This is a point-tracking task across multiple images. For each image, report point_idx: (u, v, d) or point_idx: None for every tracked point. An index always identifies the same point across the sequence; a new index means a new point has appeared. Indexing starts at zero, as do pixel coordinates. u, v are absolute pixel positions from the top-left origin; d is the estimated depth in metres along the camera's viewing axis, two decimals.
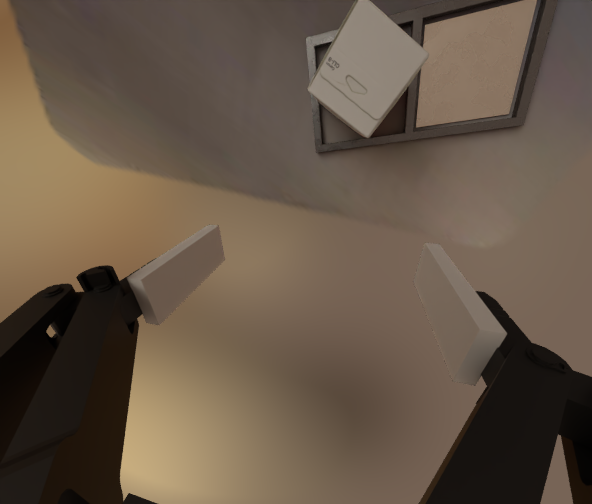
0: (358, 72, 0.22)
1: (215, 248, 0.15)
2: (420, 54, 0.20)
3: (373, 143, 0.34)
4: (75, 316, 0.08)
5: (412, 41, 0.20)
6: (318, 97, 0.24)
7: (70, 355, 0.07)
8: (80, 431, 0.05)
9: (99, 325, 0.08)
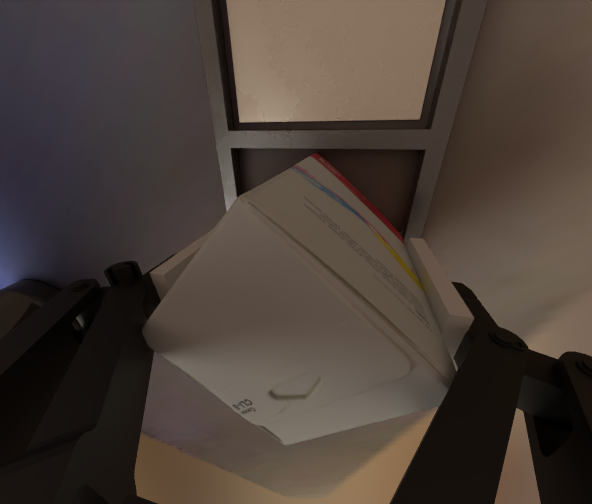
0: (267, 377, 0.08)
1: None
2: (236, 229, 0.05)
3: (421, 222, 0.14)
4: (101, 309, 0.08)
5: (205, 249, 0.06)
6: (304, 439, 0.10)
7: (94, 348, 0.07)
8: (98, 426, 0.05)
9: (122, 320, 0.08)
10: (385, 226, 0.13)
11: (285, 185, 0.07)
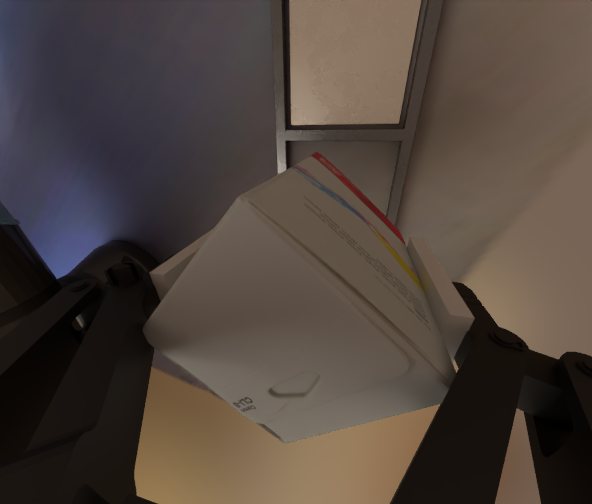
0: (266, 375, 0.08)
1: None
2: (237, 228, 0.06)
3: (401, 185, 0.24)
4: (101, 309, 0.08)
5: (206, 248, 0.06)
6: (303, 437, 0.10)
7: (94, 348, 0.07)
8: (98, 426, 0.05)
9: (122, 320, 0.08)
10: (385, 226, 0.13)
11: (285, 185, 0.07)
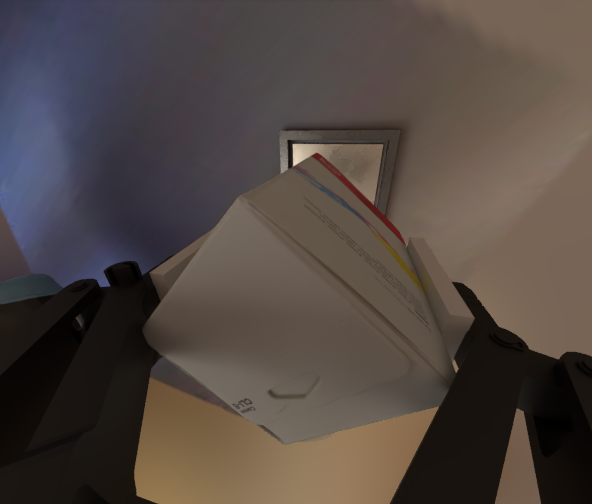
0: (266, 376, 0.08)
1: None
2: (236, 229, 0.05)
3: None
4: (101, 309, 0.08)
5: (205, 249, 0.06)
6: (303, 439, 0.10)
7: (94, 348, 0.07)
8: (98, 426, 0.05)
9: (122, 320, 0.08)
10: (385, 226, 0.13)
11: (285, 185, 0.07)
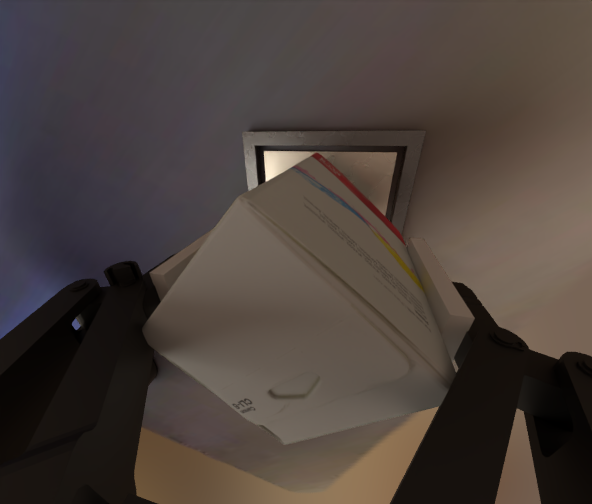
0: (266, 377, 0.08)
1: None
2: (236, 229, 0.05)
3: None
4: (101, 309, 0.08)
5: (205, 249, 0.06)
6: (303, 439, 0.10)
7: (94, 348, 0.07)
8: (98, 426, 0.05)
9: (122, 320, 0.08)
10: (385, 226, 0.13)
11: (285, 185, 0.07)
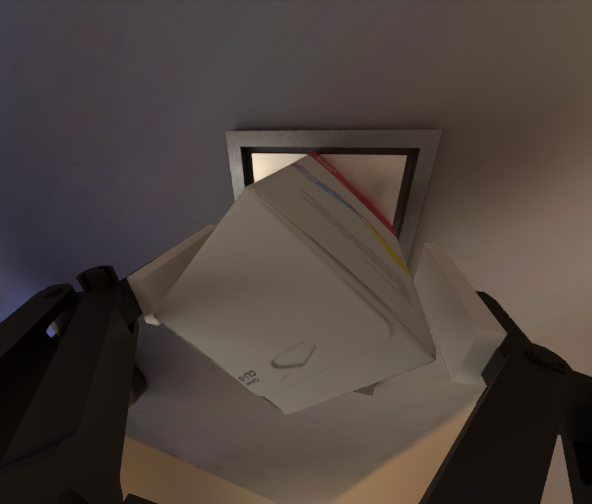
0: (269, 347, 0.09)
1: None
2: (244, 214, 0.07)
3: None
4: (75, 316, 0.08)
5: (217, 232, 0.07)
6: (302, 408, 0.11)
7: (70, 355, 0.07)
8: (80, 431, 0.05)
9: (99, 325, 0.08)
10: (377, 219, 0.14)
11: (285, 179, 0.08)
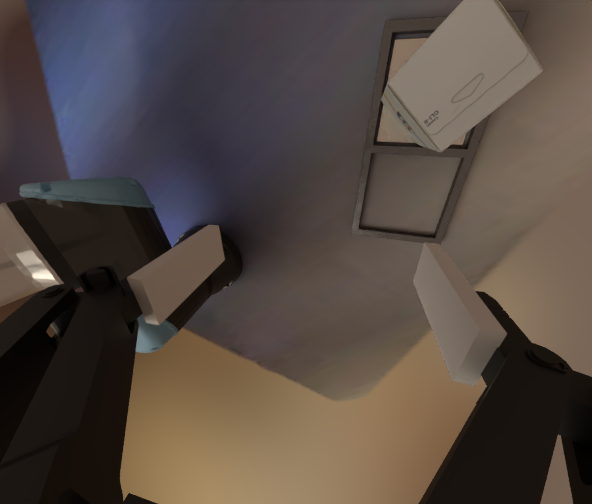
0: (456, 85, 0.19)
1: (215, 248, 0.15)
2: None
3: (459, 190, 0.32)
4: (75, 316, 0.08)
5: (455, 11, 0.17)
6: (455, 139, 0.21)
7: (70, 355, 0.07)
8: (80, 431, 0.05)
9: (99, 325, 0.08)
10: None
11: None
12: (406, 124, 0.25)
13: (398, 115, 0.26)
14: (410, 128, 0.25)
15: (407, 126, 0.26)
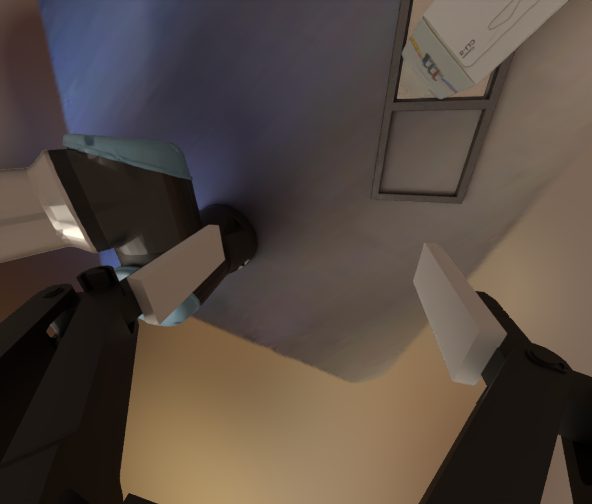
0: (493, 10, 0.19)
1: (215, 248, 0.15)
2: None
3: (480, 143, 0.32)
4: (75, 316, 0.08)
5: None
6: (491, 70, 0.21)
7: (70, 355, 0.07)
8: (80, 431, 0.05)
9: (99, 325, 0.08)
10: None
11: None
12: (433, 69, 0.25)
13: (424, 61, 0.26)
14: (438, 72, 0.25)
15: (433, 72, 0.26)
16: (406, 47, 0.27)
